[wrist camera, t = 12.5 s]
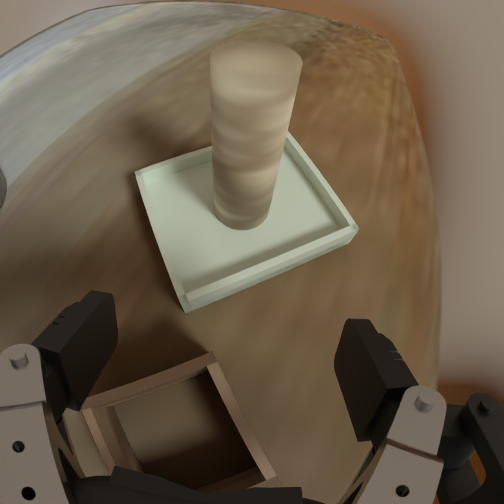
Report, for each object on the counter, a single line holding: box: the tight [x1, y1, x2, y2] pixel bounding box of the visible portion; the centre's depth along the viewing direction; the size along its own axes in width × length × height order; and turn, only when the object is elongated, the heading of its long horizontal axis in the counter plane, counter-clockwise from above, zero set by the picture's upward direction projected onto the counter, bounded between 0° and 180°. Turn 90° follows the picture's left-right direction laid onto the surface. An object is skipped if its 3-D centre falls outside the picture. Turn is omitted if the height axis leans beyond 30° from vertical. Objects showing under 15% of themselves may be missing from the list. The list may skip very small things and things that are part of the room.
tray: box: [135, 131, 359, 314], centre depth 22 cm, size 11×13×2 cm
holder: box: [81, 351, 281, 493], centre depth 14 cm, size 8×8×4 cm
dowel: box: [210, 39, 302, 230], centre depth 16 cm, size 4×4×12 cm
